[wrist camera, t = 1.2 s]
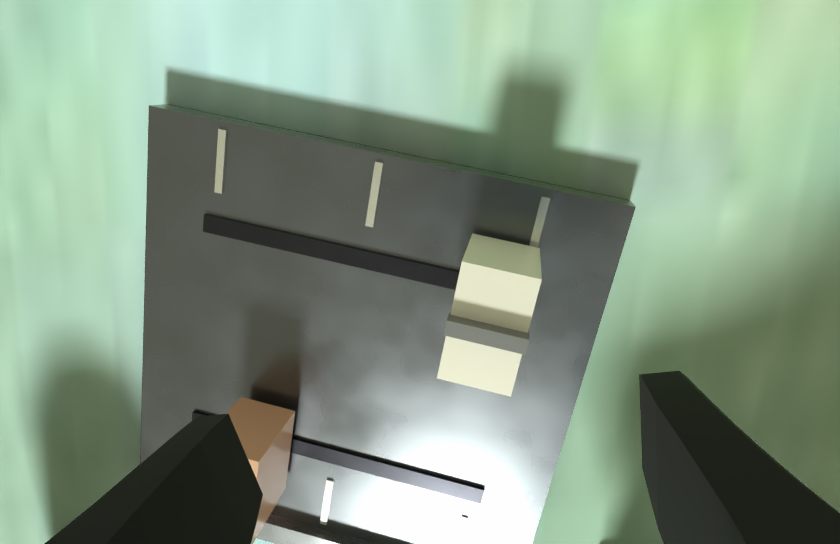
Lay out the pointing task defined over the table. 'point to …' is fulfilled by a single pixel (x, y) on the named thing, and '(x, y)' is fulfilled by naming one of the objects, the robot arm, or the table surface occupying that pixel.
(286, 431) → the terracotta fader
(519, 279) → the cream fader
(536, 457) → the console
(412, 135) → the table surface
